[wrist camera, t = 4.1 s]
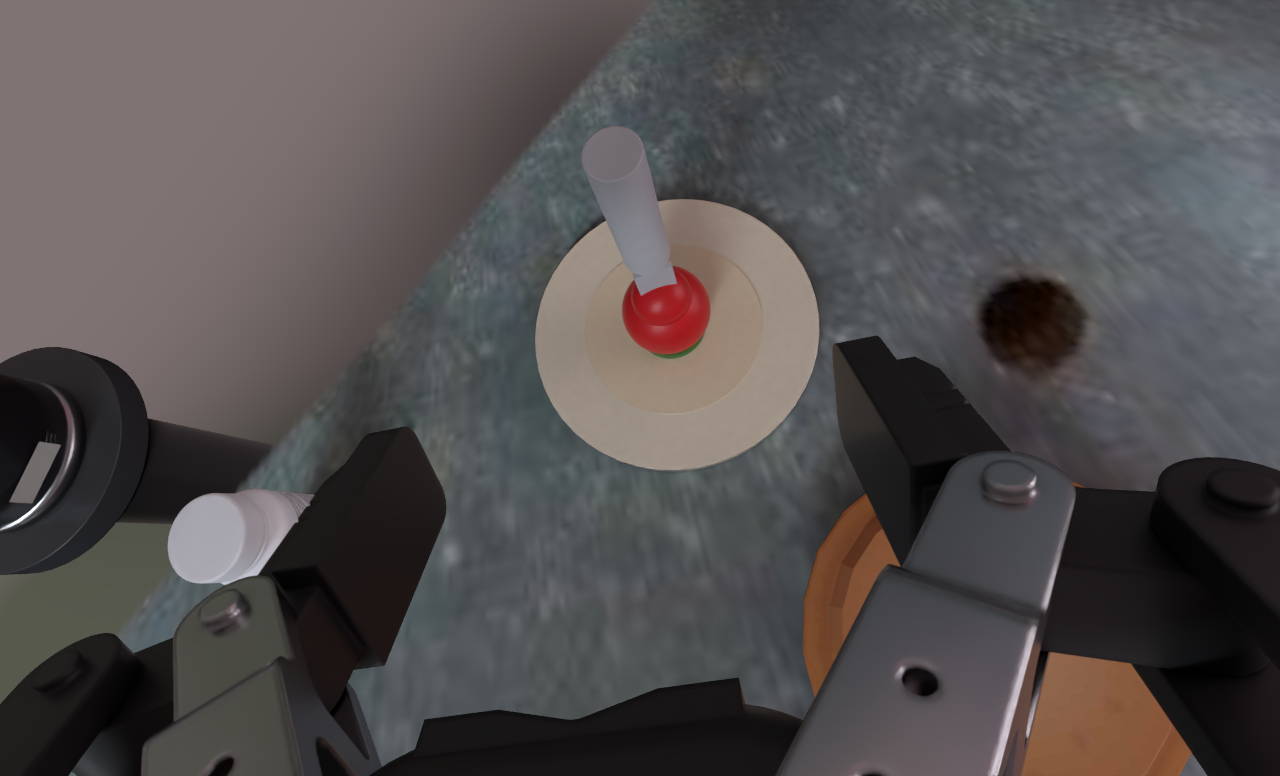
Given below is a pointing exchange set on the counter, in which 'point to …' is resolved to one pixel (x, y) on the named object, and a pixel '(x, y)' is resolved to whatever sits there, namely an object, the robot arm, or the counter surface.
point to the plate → (695, 383)
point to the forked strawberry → (644, 247)
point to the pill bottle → (231, 533)
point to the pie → (1073, 685)
